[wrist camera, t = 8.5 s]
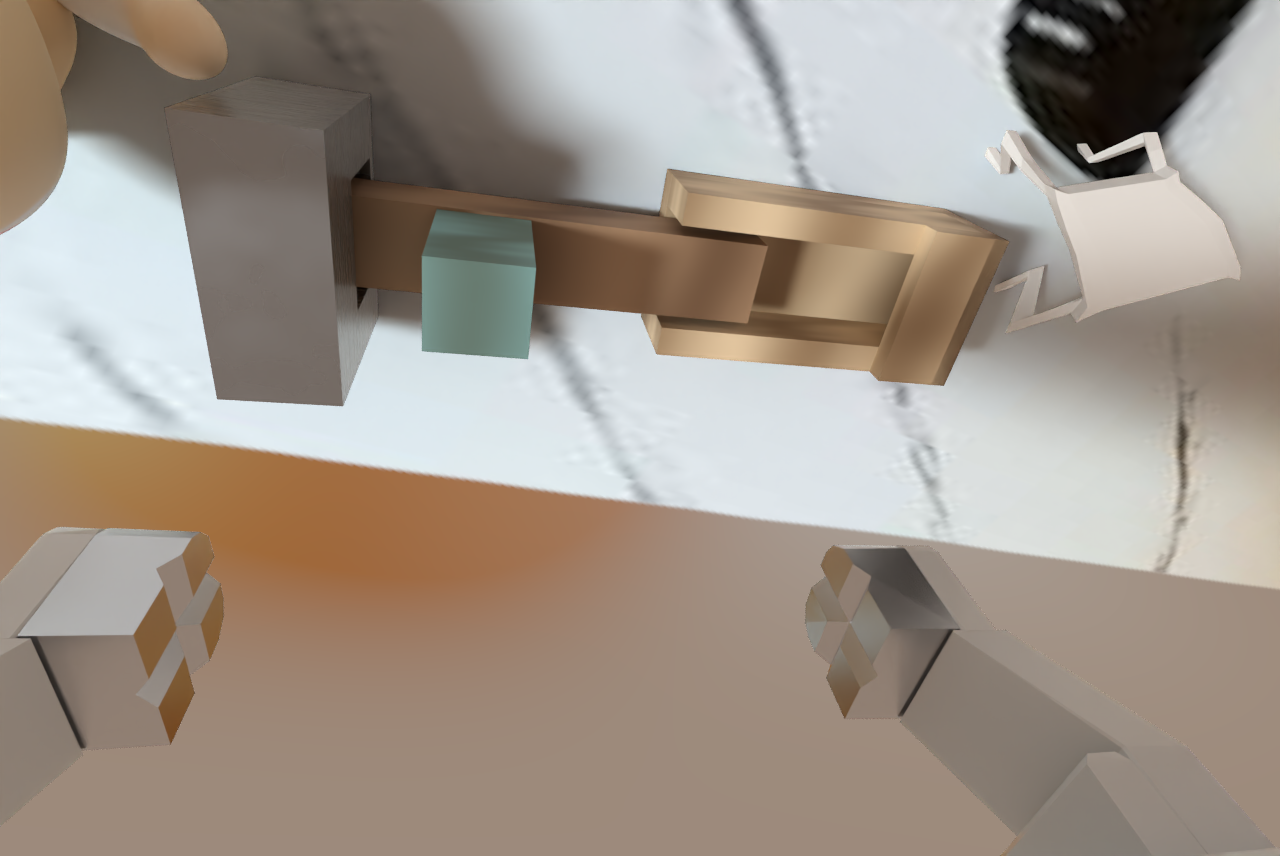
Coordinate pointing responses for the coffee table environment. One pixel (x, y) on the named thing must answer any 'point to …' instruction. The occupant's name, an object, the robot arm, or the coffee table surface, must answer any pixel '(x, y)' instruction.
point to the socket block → (276, 235)
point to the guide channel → (837, 279)
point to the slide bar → (539, 263)
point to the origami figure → (1122, 233)
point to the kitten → (41, 60)
